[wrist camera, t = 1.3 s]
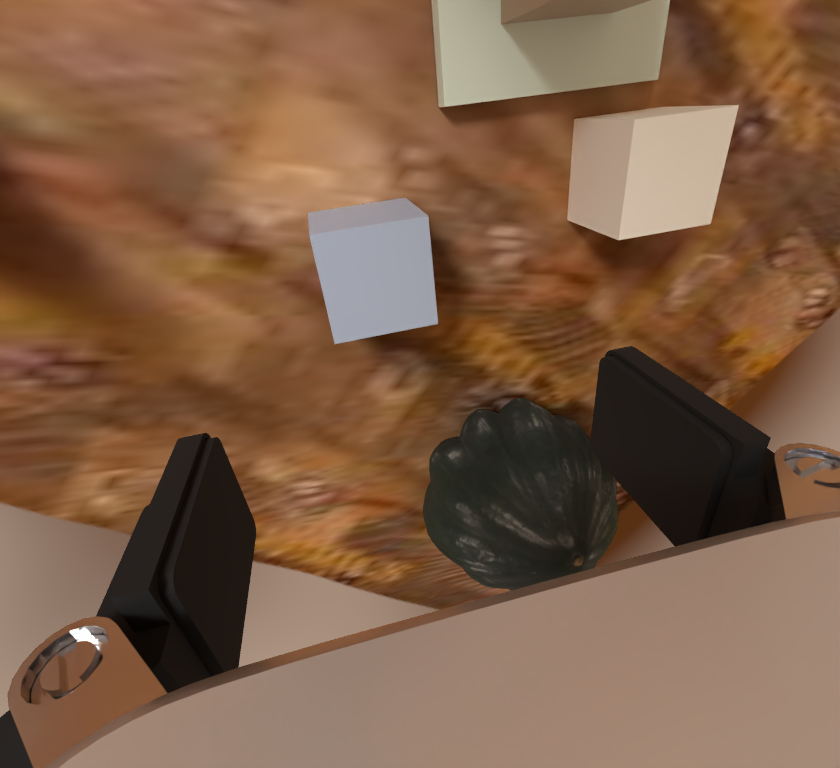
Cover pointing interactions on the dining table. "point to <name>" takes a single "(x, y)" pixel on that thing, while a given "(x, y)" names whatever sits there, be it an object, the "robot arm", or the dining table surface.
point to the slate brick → (374, 268)
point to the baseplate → (543, 46)
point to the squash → (520, 497)
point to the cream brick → (648, 169)
